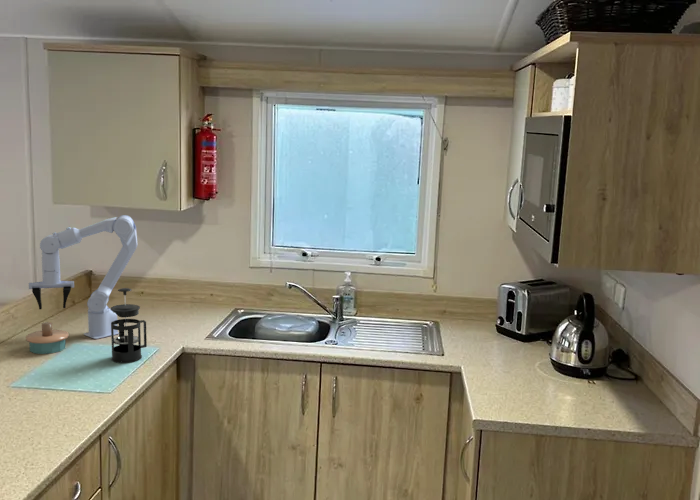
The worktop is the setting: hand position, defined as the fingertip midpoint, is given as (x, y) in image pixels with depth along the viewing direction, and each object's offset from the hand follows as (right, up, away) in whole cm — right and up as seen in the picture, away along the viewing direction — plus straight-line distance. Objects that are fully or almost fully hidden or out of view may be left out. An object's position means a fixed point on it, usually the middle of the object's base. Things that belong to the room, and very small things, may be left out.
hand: (52, 308), depth 243 cm
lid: (+4, -9, -12) cm, 16 cm away
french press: (+32, -15, -18) cm, 40 cm away
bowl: (+3, -13, -11) cm, 17 cm away
